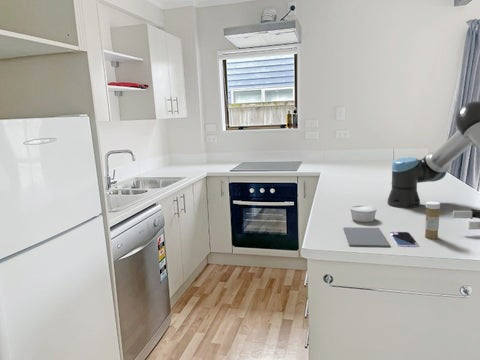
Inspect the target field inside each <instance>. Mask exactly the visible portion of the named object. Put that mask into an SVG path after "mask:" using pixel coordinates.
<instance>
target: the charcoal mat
mask: <svg viewBox="0 0 480 360" xmlns="http://www.w3.org/2000/svg"><path fill="white" fill-rule="evenodd" d="M343 231H344V235H345V238H346V240H347V243H348V246H349V247H365V248H366V247H368V248H370V247H371V248H372V247H373V248H376V247H377V248H391V247H392V246H391V244H390V242H389V241H388V239H387V237H385V235H384V233H383V232H382V230H381V229H380V227H350V226H349V227H347V226H345V227H343Z"/></svg>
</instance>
